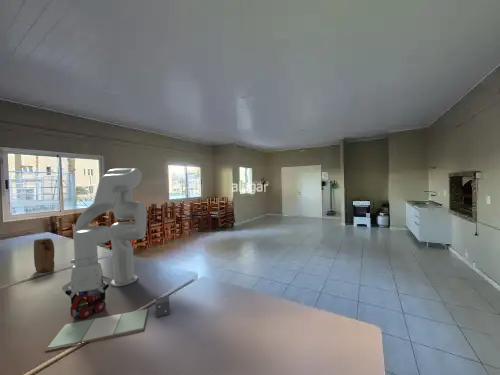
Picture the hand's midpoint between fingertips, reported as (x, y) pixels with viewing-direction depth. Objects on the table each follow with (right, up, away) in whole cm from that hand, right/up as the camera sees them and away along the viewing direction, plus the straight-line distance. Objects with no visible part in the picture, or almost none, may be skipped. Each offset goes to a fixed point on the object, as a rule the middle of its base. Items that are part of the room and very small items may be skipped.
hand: (89, 303), depth 93 cm
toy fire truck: (0, -4, 0) cm, 4 cm away
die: (+28, 0, -3) cm, 28 cm away
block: (-64, -6, +52) cm, 83 cm away
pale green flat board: (+13, -4, -11) cm, 17 cm away
